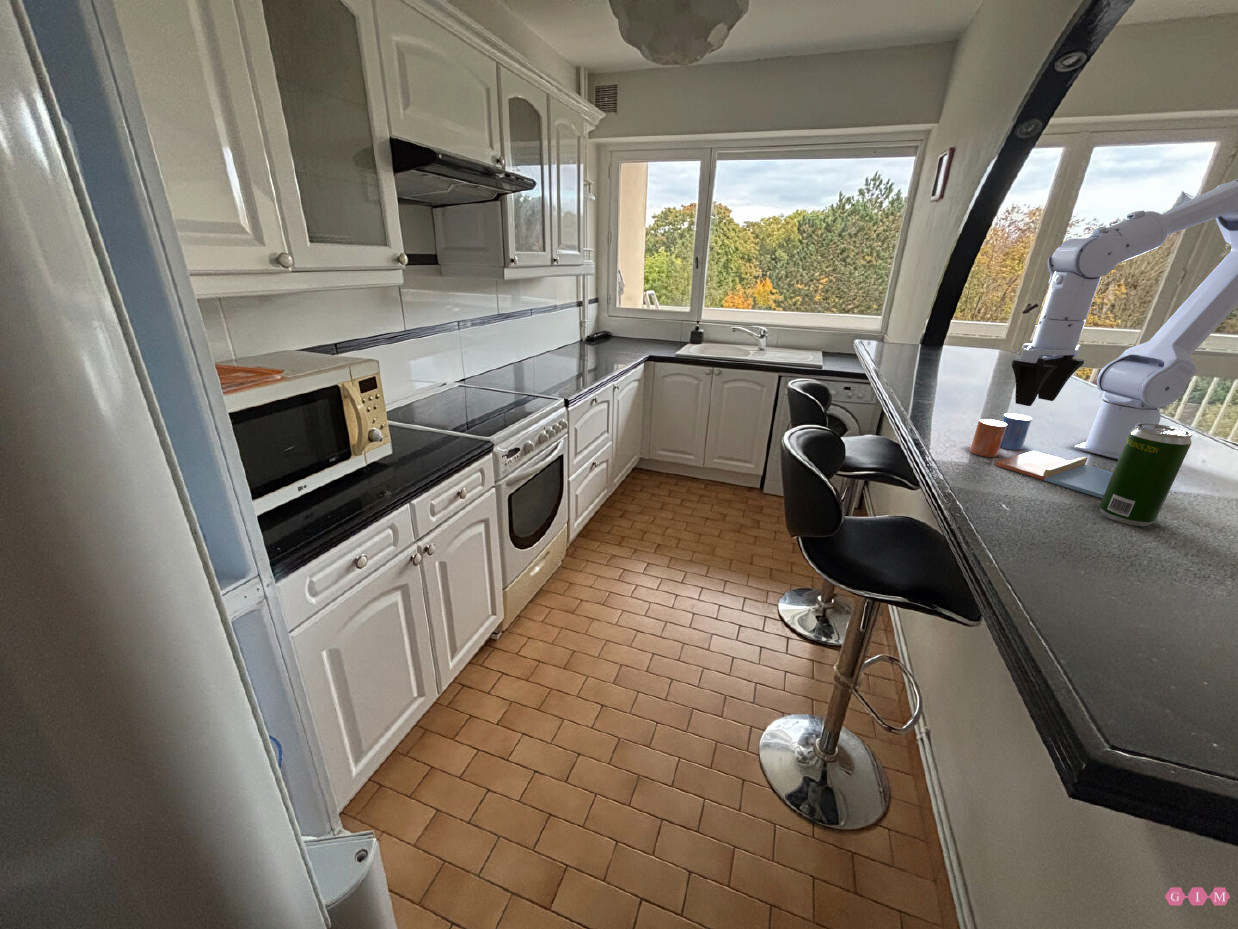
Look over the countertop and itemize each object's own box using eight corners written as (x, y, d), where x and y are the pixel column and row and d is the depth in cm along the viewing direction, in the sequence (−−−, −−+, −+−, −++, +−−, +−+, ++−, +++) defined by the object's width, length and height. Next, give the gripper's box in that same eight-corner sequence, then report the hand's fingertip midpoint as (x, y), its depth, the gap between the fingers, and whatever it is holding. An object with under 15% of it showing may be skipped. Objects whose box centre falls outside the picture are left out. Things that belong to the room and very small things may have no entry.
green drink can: (1146, 531, 62) (1189, 439, 57) (1090, 514, 66) (1126, 426, 62) (1159, 520, 65) (1200, 431, 60) (1104, 504, 69) (1139, 420, 64)
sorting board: (1032, 453, 87) (1035, 443, 87) (1138, 483, 76) (1142, 472, 75) (994, 464, 82) (997, 454, 81) (1101, 498, 71) (1106, 486, 70)
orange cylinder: (977, 447, 90) (986, 417, 88) (1002, 454, 87) (1012, 424, 85) (964, 451, 88) (973, 420, 86) (989, 458, 85) (999, 427, 83)
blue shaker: (1002, 441, 93) (1011, 412, 91) (1026, 447, 90) (1036, 418, 88) (990, 444, 92) (999, 415, 90) (1014, 451, 88) (1024, 421, 86)
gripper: (1054, 315, 87) (1029, 392, 92) (1010, 318, 80) (986, 401, 86) (1106, 319, 81) (1076, 401, 86) (1063, 322, 75) (1033, 411, 80)
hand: (1034, 402), depth 86 cm, fingers open, 7 cm apart
